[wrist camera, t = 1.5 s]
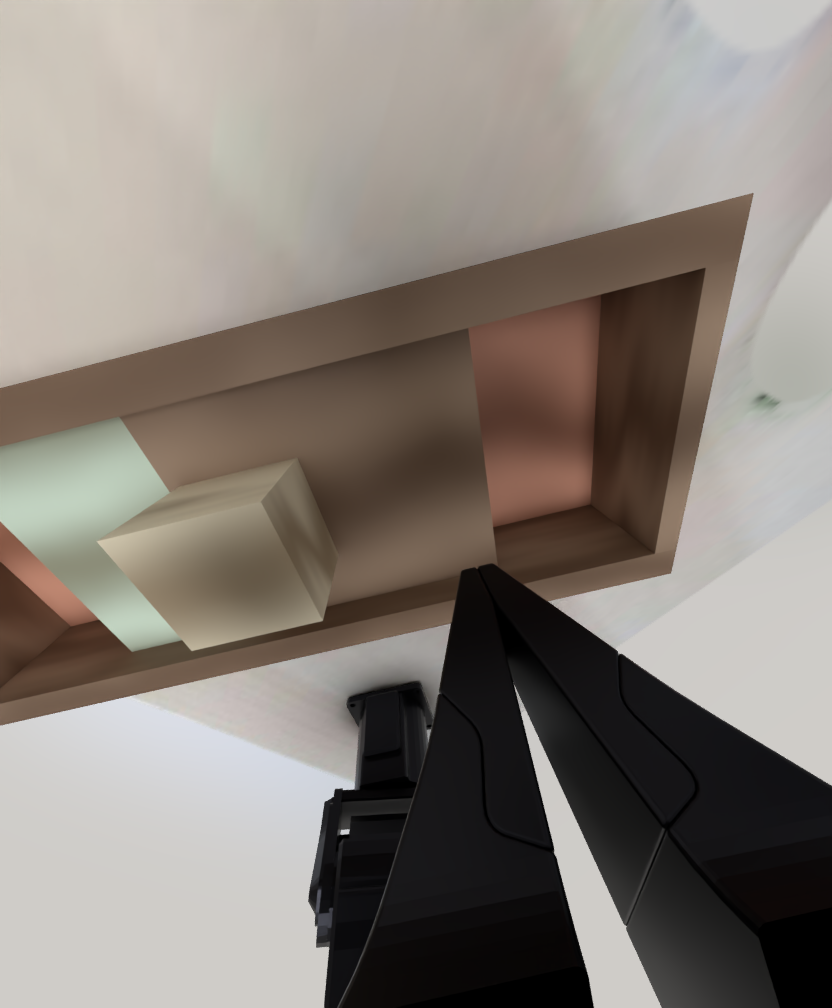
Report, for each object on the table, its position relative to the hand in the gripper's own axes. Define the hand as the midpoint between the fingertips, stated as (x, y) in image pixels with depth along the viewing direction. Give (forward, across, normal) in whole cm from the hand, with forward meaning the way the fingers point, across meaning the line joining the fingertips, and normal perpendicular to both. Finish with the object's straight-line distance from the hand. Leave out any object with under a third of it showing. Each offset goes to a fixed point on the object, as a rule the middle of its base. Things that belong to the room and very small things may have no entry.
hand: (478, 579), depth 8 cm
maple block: (+6, +8, 0) cm, 10 cm away
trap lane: (+10, +8, 0) cm, 13 cm away
